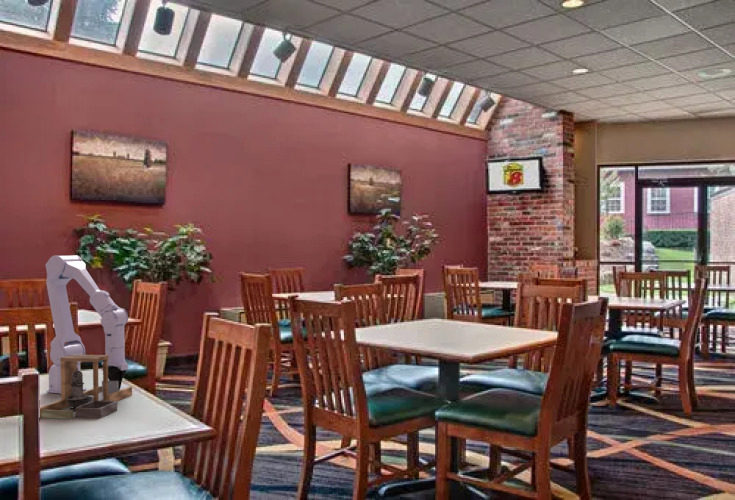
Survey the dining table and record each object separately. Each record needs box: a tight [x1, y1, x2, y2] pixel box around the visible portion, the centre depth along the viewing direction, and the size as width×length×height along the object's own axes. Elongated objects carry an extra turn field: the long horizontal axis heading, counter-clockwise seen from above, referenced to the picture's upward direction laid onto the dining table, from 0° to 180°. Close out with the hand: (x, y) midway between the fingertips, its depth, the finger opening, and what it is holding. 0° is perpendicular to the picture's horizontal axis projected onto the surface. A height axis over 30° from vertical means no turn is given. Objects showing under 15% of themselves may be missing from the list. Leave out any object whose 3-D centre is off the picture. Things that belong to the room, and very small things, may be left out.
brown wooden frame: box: [39, 354, 133, 420], centre depth 192 cm, size 30×18×15 cm, turn 170°
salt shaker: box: [66, 368, 89, 413], centre depth 188 cm, size 6×6×12 cm
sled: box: [86, 380, 119, 403], centre depth 198 cm, size 15×6×5 cm, turn 170°
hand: (115, 390), depth 208 cm, fingers closed
